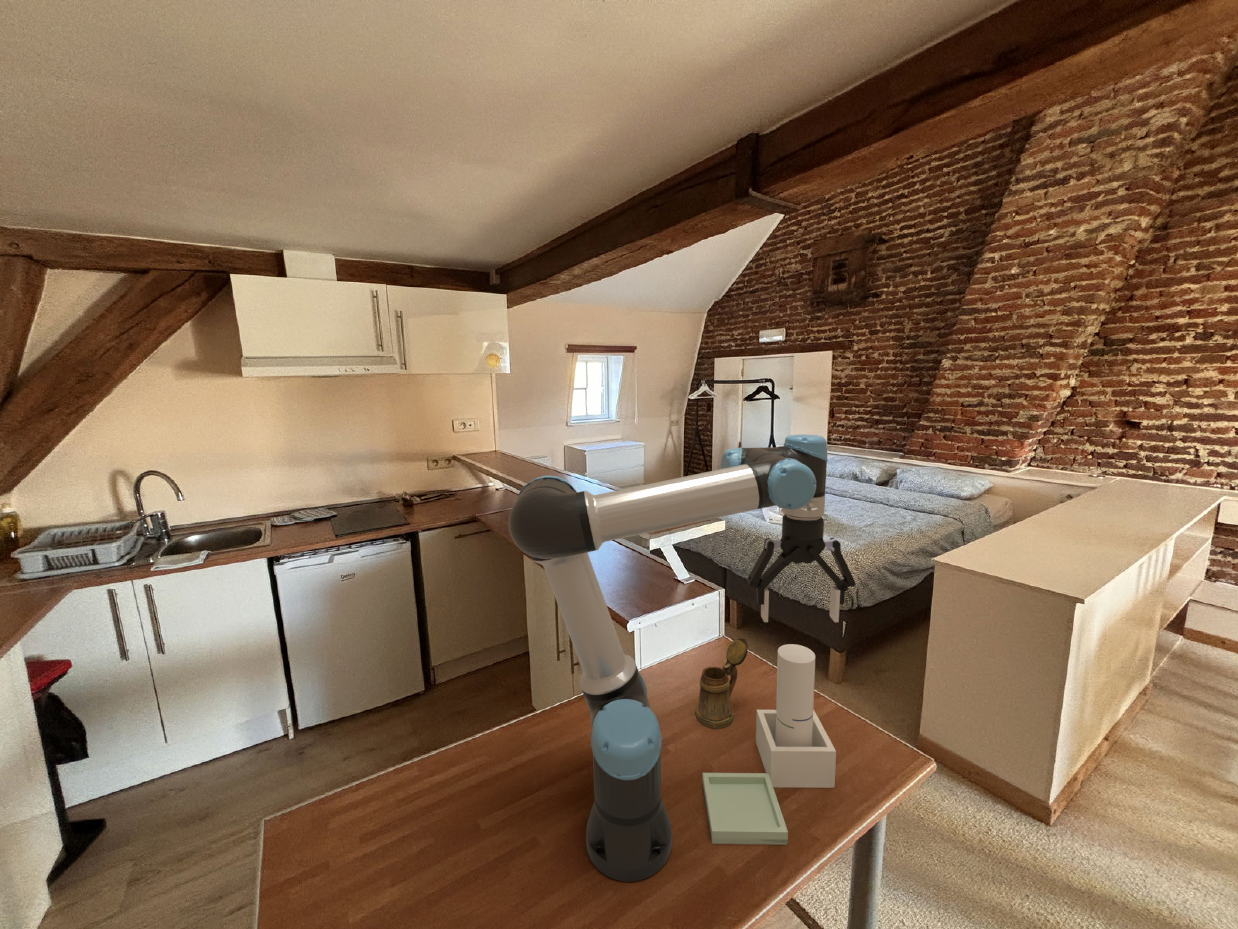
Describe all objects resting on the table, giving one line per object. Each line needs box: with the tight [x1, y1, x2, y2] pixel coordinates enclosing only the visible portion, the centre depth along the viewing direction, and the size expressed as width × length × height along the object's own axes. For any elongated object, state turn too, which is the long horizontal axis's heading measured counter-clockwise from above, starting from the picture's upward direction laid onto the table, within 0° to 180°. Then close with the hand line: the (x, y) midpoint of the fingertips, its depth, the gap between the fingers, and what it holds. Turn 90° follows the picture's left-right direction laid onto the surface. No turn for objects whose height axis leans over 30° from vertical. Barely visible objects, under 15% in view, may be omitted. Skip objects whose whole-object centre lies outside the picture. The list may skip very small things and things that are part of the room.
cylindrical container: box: [775, 643, 816, 747], centre depth 101 cm, size 7×7×25 cm
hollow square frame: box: [755, 709, 837, 789], centre depth 102 cm, size 12×12×8 cm
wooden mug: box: [695, 637, 749, 730], centre depth 118 cm, size 9×14×18 cm, turn 114°
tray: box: [702, 772, 789, 846], centre depth 92 cm, size 13×13×2 cm
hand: (799, 619), depth 98 cm, fingers open, 13 cm apart
